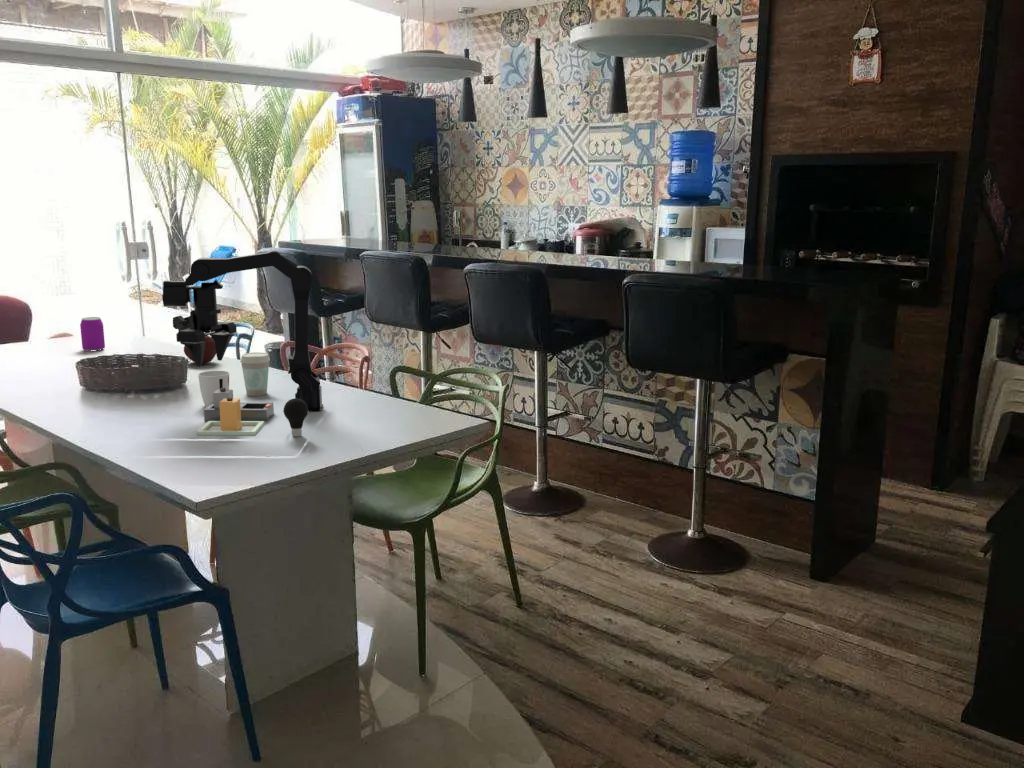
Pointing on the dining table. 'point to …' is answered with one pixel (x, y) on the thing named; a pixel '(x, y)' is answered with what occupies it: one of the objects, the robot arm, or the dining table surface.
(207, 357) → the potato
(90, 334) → the beverage can
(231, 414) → the plug
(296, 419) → the light bulb
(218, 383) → the cup
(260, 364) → the coffee cup
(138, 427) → the dining table surface
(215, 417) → the strip
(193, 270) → the robot arm
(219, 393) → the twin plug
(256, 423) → the tray
